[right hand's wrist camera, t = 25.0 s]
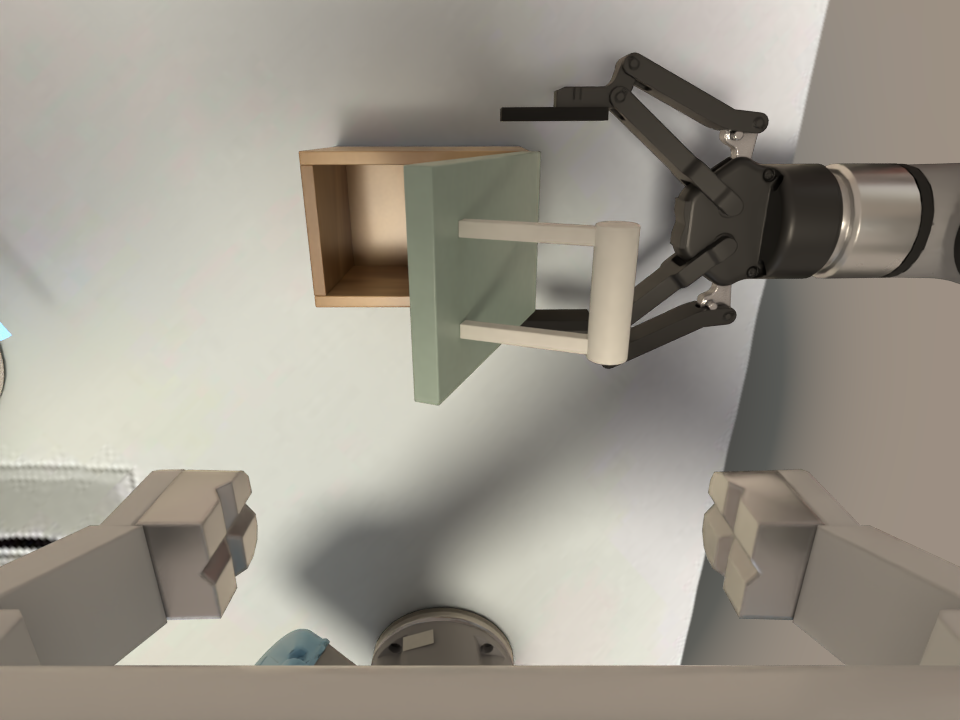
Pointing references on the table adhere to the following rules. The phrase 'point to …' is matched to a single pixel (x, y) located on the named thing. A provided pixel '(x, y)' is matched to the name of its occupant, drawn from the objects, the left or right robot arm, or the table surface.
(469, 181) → the lid
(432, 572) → the table surface
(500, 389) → the table surface
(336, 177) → the chest
